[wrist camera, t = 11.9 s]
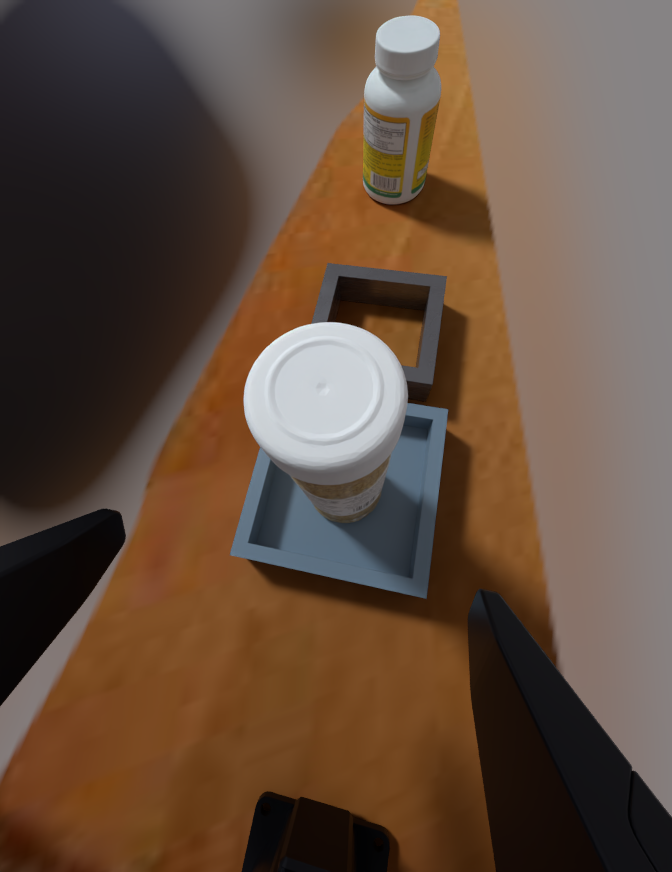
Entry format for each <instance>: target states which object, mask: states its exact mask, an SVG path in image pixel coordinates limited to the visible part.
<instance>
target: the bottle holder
mask: <svg viewBox="0 0 672 872" xmlns="http://www.w3.org/2000/svg"><path fill="white" fill-rule="evenodd" d="M446 279H447V276H439V275H430V274H421V273H412V272H403V271H394V270H385V269H376V268H367V267H358V266H349V265H340V264H331V263H328V264H327V268H326V271H325V275H324V279H323V283H322V286H321V290H320V294H319V298H318V301H317V305H316V309H315V313H314V316H313V320H312V324H314V323H323V322H335V321H336V316H337V312H338V308H339V304H340V300H344V301H352V302H360V303H369V304H377V305H385V306H393V307H401V308H409V309H417V310H424V316H423V323H422V329H421V336H420V343H419V349H418V356H417V362H416V368H415V367H408V366H402V369H403V371H404V374H405V378H406V382H407V390H408V399H413V400H419V401H425V402H426V400H427V397H428V395H429V392H430V390H431V387H432V385H433V377H434V370H435V362H436V354H437V347H438V339H439V332H440V324H441V317H442V309H443V302H444V294H445V286H446Z"/></svg>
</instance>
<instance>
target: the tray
mask: <svg viewBox="0 0 672 872" xmlns="http://www.w3.org/2000/svg"><path fill="white" fill-rule="evenodd" d="M447 415H448V409H443V408H436V407H430V406H424V405H417V404H411V403H407V410H406V415H405V420H404V424H403V428H402V431H401V434H400V437H399V440H398V442H397V444H396V446H395V448H394V449H393V451H392V453H391V459H390V463H389V466H388V470H387V473H386V477H385V480H384V484H383V487H382V491H381V497H380V499H379V502H378V503H377V505H376V507H375V508H374V510H373V511H372V512H370V513H369V514H368V515H367V516H366V517H364V518H362V519H361V520H359V521H356V522H351V523H339V522H335V521H330V520H329V519H327V518H325V517H324V516H322V515H321V514H320V513H319V512H318V511H317V510H316V509H315V507H314V505H313V504H312V502H311V501H310V500H309V499H308V497H307V496H306V495H305V494H304V492H303V491H302V490H301V489H300V487H299V486H298V485H297V484H296V483H295V481H294V480H293V479H292V477H291V476H290V475H289V474H287V473H286V472H284V471H283V470H281V469H280V468H279V467H278V466H277V465H276V464H274V462H273V461H272V460H271V459H270V458H269V457H268V456H267V454H266V453H265V452H264V451H263V450H262V448H261V447H260V450H259V453H258V457H257V460H256V464H255V468H254V471H253V475H252V478H251V482H250V485H249V489H248V492H247V496H246V499H245V503H244V506H243V510H242V513H241V517H240V521H239V524H238V528H237V531H236V535H235V538H234V542H233V545H232V549H231V552H230V555H232V556H237V557H241V558H246V559H250V560H255V561H259V562H264V563H268V564H273V565H277V566H282V567H286V568H291V569H295V570H300V571H304V572H309V573H313V574H318V575H322V576H327V577H331V578H336V579H340V580H345V581H349V582H354V583H358V584H363V585H367V586H372V587H376V588H381V589H385V590H390V591H394V592H399V593H403V594H408V595H412V596H417V597H421V598H426V599H427V590H428V582H429V573H430V564H431V555H432V547H433V538H434V529H435V520H436V512H437V503H438V494H439V485H440V477H441V468H442V459H443V450H444V442H445V433H446V424H447Z"/></svg>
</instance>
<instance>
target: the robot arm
mask: <svg viewBox="0 0 672 872" xmlns="http://www.w3.org/2000/svg"><path fill="white" fill-rule="evenodd" d="M125 538H126V534H125V529H124V525H123V520H122V516H121V514H120V512H118V511H115V510H110V509H100V510H97V511H95V512H92V513H89V514H86V515H84V516H81V517H79V518H76V519H73V520H71V521H68V522H65V523H62V524H60V525H57V526H54V527H52V528H49V529H46V530H43V531H41V532H38V533H35V534H33V535H30V536H27V537H25V538H22V539H19V540H17V541H14V542H11V543H9V544H6V545H3V546H1V547H0V706H1V705H2V703H3V702H4V701H5V700H6V699H7V697H8V696H9V695H10V694H11V692H12V691H13V690H14V689H15V687H16V686H17V685H18V684H19V682H20V681H21V680H22V678H23V677H24V676H25V675H26V674H27V673H28V671H29V670H30V669H31V667H32V666H33V665H34V664H35V663H36V661H37V660H38V659H39V658H40V656H41V655H42V654H43V653H44V651H45V650H46V649H47V648H48V647H49V645H50V644H51V643H52V642H53V640H54V639H55V638H56V637H57V635H58V634H59V633H60V632H61V630H62V629H63V628H64V627H65V625H66V624H67V623H68V622H69V621H70V619H71V618H72V617H73V616H74V614H75V613H76V612H77V611H78V609H79V608H80V607H81V606H82V604H83V603H84V602H85V600H86V599H87V597H88V596H89V595H90V593H91V592H92V591H93V589H94V588H95V586H96V585H97V583H98V582H99V580H100V579H101V577H102V576H103V574H104V573H105V571H106V570H107V568H108V567H109V565H110V564H111V562H112V561H113V559H114V558H115V556H116V555H117V553H118V552H119V551H120V549H121V548H122V546H123V544H124V542H125ZM468 644H469V669H470V690H471V701H472V709H473V715H474V722H475V729H476V736H477V743H478V750H479V757H480V764H481V771H482V777H483V784H484V791H485V798H486V805H487V812H488V819H489V826H490V833H491V839H492V846H493V853H494V860H495V867H496V872H672V817H671V815H670V814H669V813H668V812H667V810H666V809H665V808H664V807H663V805H662V804H661V803H660V802H659V800H658V799H657V798H656V796H655V795H654V794H653V793H652V791H651V790H650V789H649V787H648V786H647V785H646V783H645V782H644V781H643V780H642V778H641V777H640V776H639V775H638V773H637V772H636V771H632V766H631V764H630V763H629V762H628V760H627V759H626V758H625V757H624V755H623V754H622V753H621V752H620V750H619V749H618V747H617V746H616V745H615V744H614V742H613V741H612V740H611V738H610V737H609V736H608V734H607V733H606V732H605V731H604V729H603V728H602V727H601V725H600V724H599V723H598V722H597V720H596V719H595V718H594V716H593V715H592V714H591V712H590V711H589V710H588V709H587V707H586V706H585V705H584V703H583V702H582V701H581V700H580V698H579V697H578V696H577V694H576V693H575V692H574V690H573V689H572V688H571V686H570V685H569V684H568V682H567V681H566V680H565V679H564V677H563V676H562V675H561V673H560V672H559V671H558V669H557V668H556V667H555V666H554V664H553V663H552V662H551V660H550V659H549V658H548V657H547V655H546V654H545V653H544V651H543V650H542V649H541V647H540V646H539V645H538V644H537V642H536V641H535V640H534V638H533V637H532V636H531V634H530V633H529V632H528V631H527V629H526V628H525V627H524V625H523V624H522V623H521V621H520V620H519V619H518V618H517V616H516V615H515V614H514V612H513V611H512V610H511V608H510V607H509V606H508V605H507V603H506V602H505V601H504V599H503V598H502V597H501V596H500V594H498V593H497V592H495V591H490V590H485V589H479V590H478V591H477V593H476V595H475V598H474V600H473V603H472V606H471V608H470V611H469V614H468ZM263 803H268V804H269V805H270V807H271V810H269V811H266V810H264V808H263ZM376 838H381V839H382V840H383V844H382V845H380V846H377V845H376V844H375V843H374V840H375V839H376ZM388 856H389V836H388V833H387V831H386V830H385V828H384V827H382V826H380V825H377V824H374V823H371V822H368V821H364V820H361V819H358V818H354V817H352V816H351V814H350V812H349V811H347V810H344V809H340V808H337V807H334V806H331V805H327V804H324V803H321V802H317V801H314V800H311V799H307V798H304V797H300V798H299V799H297V800H296V799H292V798H289V797H286V796H282V795H279V794H276V793H273V792H264V793H263V794H262V795H261V796H260V797H259V800H258V802H257V805H256V808H255V812H254V817H253V822H252V826H251V831H250V836H249V840H248V845H247V850H246V854H245V859H244V863H243V868H242V872H387V865H388Z"/></svg>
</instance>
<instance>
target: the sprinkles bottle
mask: <svg viewBox="0 0 672 872" xmlns="http://www.w3.org/2000/svg"><path fill="white" fill-rule="evenodd" d="M407 402H408V390H407V382H406V378H405V374H404V371H403V369H402V366H401V364H400V363H399V361H398V359H397V357H396V356H395V354H394V353H393V352H392V351H391V349H390V348H389V347H388V346H387V345H386V344H385V343H384V342H383V341H381V340H380V339H379V338H378V337H376V336H375V335H373V334H371V333H370V332H368V331H366V330H364V329H362V328H359V327H356V326H353V325H349V324H344V323H336V322H323V323H314V324H309V325H305V326H301V327H298V328H296V329H293V330H291V331H289V332H287V333H285V334H284V335H282V336H281V337H279V338H278V339H276V340H275V341H273V342H272V343H271V344H270V345H269V346H268V347H267V348H266V349H265V350H264V351H263V352H262V353H261V354H260V356H259V357H258V359H257V360H256V361H255V363H254V365H253V367H252V369H251V371H250V373H249V375H248V378H247V381H246V385H245V391H244V410H245V417H246V420H247V423H248V426H249V428H250V431H251V433H252V435H253V436H254V438H255V440H256V441H257V443H258V444H259V446H260V447H261V448H262V450H263V451H264V452H265V453H266V454H267V456H268V457H269V458H270V459H271V460H272V461H273V462H274V464H276V465H277V466H278V467H279V468H280V469H281V470H283V471H284V472H286V473H287V474H289V475H290V476H291V477H292V479H293V480H294V481H295V483H296V484H297V485H298V486H299V487H300V489H301V490H302V491H303V492H304V494H305V495H306V496H307V497H308V499H309V500H310V501H311V502H312V504H313V505H314V507H315V509H316V510H317V511H318V512H319V513H320V514H321V515H322V516H324V517H325V518H327V519H329V520H330V521H335V522H339V523H351V522H356V521H359V520H361V519H362V518H364V517H366V516H367V515H368V514H369V513H370V512H372V511H373V510H374V508H375V507H376V505H377V503H378V502H379V499H380V497H381V491H382V487H383V484H384V480H385V477H386V473H387V470H388V466H389V463H390V459H391V453H392V451H393V449H394V448H395V446H396V444H397V442H398V440H399V437H400V434H401V431H402V428H403V424H404V420H405V415H406V410H407Z"/></svg>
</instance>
